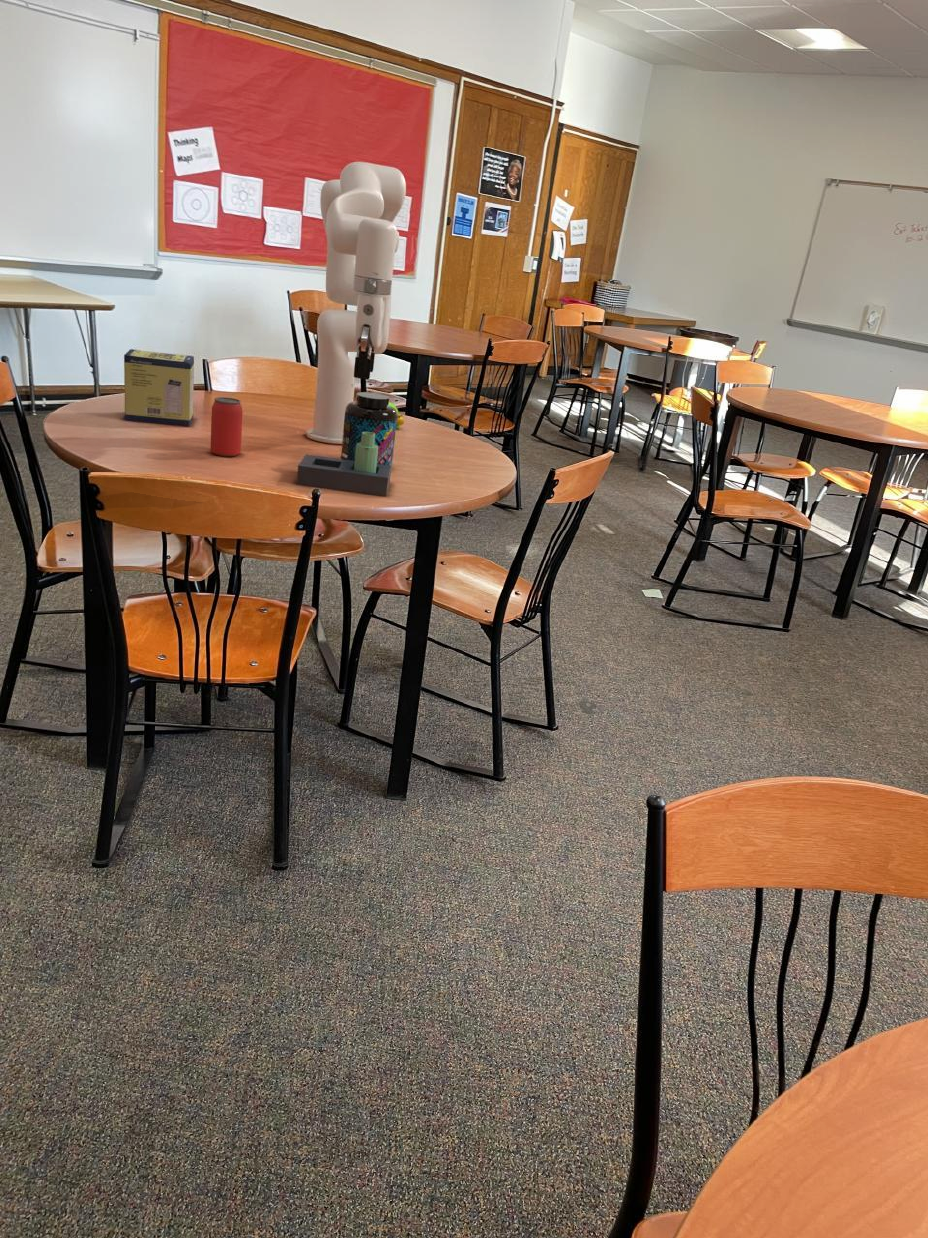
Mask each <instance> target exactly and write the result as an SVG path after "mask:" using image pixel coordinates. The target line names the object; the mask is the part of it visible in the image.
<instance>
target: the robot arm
mask: <svg viewBox="0 0 928 1238" xmlns="http://www.w3.org/2000/svg"><path fill="white" fill-rule="evenodd" d="M406 194H407V184H406V179H405V176H404V174H403V173H402V171H401V170H400V169H398V168H396V167H393V166H388V165H383V164H382V165H381V164H376V163H371V162H366V161H365V162H364V161H353V162H350V163H348V164H347V165H345V166H344V168H343V169H342V170H341V172H340V176H339V179H330V180H327V181H326V182H324V183H323V185H322V187H321V190H320V200H319V201H320V204H319V205H320V213H321V218H322V223H323V226H324V230H325V234H326V240H327V250H326V268H325V269H326V270H325V294H326V297H327V298H328V300H329V301H331V302H332V303H337V304H340V305H345V306H346V305H348V306H354V307H356V310H347V309H342V308H341V309H340V308H330V309H326V310H324V311H322V312H321V313H320V314H319V316H318V318H317V323H316V328H317V329H316V332H317V348H318V349H317V353H318V354H317V370H316V371H317V372H316V386H315V399H314V411H313V426H312V428H310V429H307V430H306V437H307V438H309V439H311V440H313V441H315V442H321V443H325V444H333V445H342V440H343V429H344V418H345V409H346V406H347V405H348V404H349V403H351V402H354V399H355V390H356V389H355V388H356V379H362V380H370V378H371V373H373V372H374V366H375V358H376V357H375V356H376V355H381V354H383V353H385V351H386V349H387V347H388V342H389V334H390V322H391V307H392V306H391V305H392V285H393V281H392V280H393V277H394V276H393V275H394V265H395V264H394V263H395V255H396V253H397V251H398V248H399V243H400V232H399V231H398V229H397V226H396V225H395V224H394V221H395V219H396V217H397V216H398V214H399V213H400V211H401V209H402V208H403V205H404V203H405V200H406ZM348 353H356V356H355V358H354V363H353V361H352V360H351V359H350V357H349V355H348Z"/></svg>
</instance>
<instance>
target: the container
mask: <svg viewBox="0 0 928 1238" xmlns="http://www.w3.org/2000/svg"><path fill="white" fill-rule="evenodd" d="M355 397H356V398H355V401H353V402H351V403H349V404H348V405H347V406H346V409H345V418H344V429H343V440H342V444H341V450H340V451H341V453H340V459H344V460H351V461H355V454H356V444H357V443H361V437H362V432H371V433H374V434H375V445H377V446H379V447H378V456H377V464H380V465H387V466H391V467H392V464H393V457H394V448H395V441H396V440H395V439H396V430H397V429H396V423H397V412H396V410H395V409H394V408H393V407H391V406H388V404H389V402H390V397H389V396H388V395H385V394H381V393H376V392H368V391H367V392H366V391H363V392H362V391H361V392H356V396H355Z"/></svg>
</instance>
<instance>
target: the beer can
mask: <svg viewBox="0 0 928 1238" xmlns="http://www.w3.org/2000/svg"><path fill="white" fill-rule="evenodd" d="M241 402H242V401H241V400H240V399H237V398H233V397H226V396H219V397H218V396H217V397H215V398H214V401H213V403H212V406H211V418H210V420H211V421H210V446H209V447H210V449H209V450H210V452H211V453H212V454H213V455H216V456H219V457H226V458H233V457H237V456H239V455H240V454H241V452H242V434H243V415H244V414H243V413H244V412H243V407H242V404H241Z"/></svg>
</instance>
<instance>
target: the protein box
mask: <svg viewBox="0 0 928 1238" xmlns="http://www.w3.org/2000/svg"><path fill="white" fill-rule="evenodd" d="M123 370H124V371H123V372H124V377H123V378H124V379H123V380H124V381H123V382H124V385H123V386H124V389H123V391H124V421H128V422H129V421H130V422H140V423H148V424H149V423H150V424H159V425H170V426H179V427H180V426H181V427H190V426H191V424H192V422H193V419H194V391H195V389H194V388H195V387H194V385H195V383H194V382H195V356H193V355H187V354H178V353H177V354H176V353H169V352H168V353H167V352H159V351H149V350H141V349H140V350H139V349H134V348H130V349H129V350H128V351H127V352H126V353H125V354H124V355H123Z"/></svg>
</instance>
